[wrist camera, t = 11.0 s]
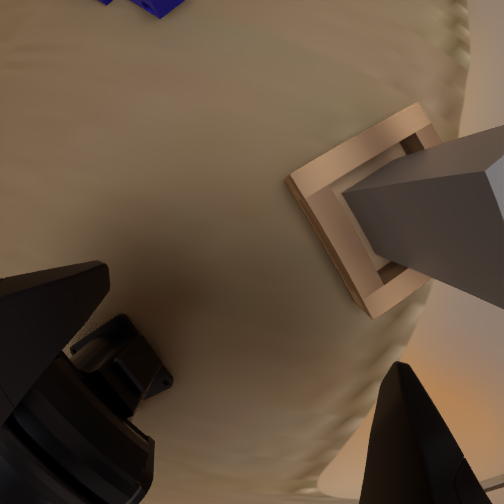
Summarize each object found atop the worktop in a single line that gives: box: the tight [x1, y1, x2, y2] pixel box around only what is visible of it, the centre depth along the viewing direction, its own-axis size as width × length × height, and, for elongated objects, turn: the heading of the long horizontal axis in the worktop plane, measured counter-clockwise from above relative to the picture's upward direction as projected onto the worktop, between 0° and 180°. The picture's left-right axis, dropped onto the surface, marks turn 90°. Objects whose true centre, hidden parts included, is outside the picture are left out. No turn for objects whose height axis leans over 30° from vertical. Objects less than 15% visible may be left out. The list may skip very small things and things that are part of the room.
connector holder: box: [284, 102, 442, 320], centre depth 17 cm, size 10×10×4 cm
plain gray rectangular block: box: [341, 125, 504, 309], centre depth 12 cm, size 4×4×13 cm
